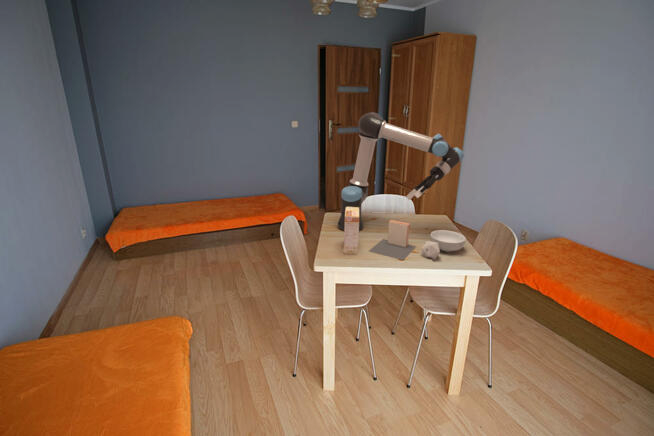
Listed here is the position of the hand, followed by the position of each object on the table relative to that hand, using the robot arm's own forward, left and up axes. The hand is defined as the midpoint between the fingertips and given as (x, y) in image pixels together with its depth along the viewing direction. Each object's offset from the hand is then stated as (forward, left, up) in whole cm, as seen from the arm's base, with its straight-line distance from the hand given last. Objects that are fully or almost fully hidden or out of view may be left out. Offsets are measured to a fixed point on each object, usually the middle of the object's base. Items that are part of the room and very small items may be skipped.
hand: (411, 197), depth 186 cm
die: (+19, -22, -22) cm, 36 cm away
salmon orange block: (+1, -18, -21) cm, 27 cm away
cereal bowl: (+23, -7, -22) cm, 32 cm away
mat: (+1, -24, -22) cm, 33 cm away
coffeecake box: (-18, -33, -22) cm, 44 cm away
